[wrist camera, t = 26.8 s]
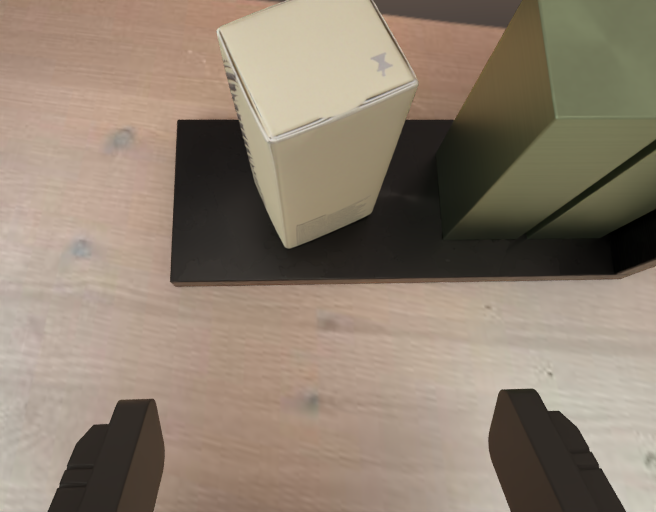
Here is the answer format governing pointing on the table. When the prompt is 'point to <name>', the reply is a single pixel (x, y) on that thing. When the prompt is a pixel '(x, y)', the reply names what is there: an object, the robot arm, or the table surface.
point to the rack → (466, 173)
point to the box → (317, 108)
